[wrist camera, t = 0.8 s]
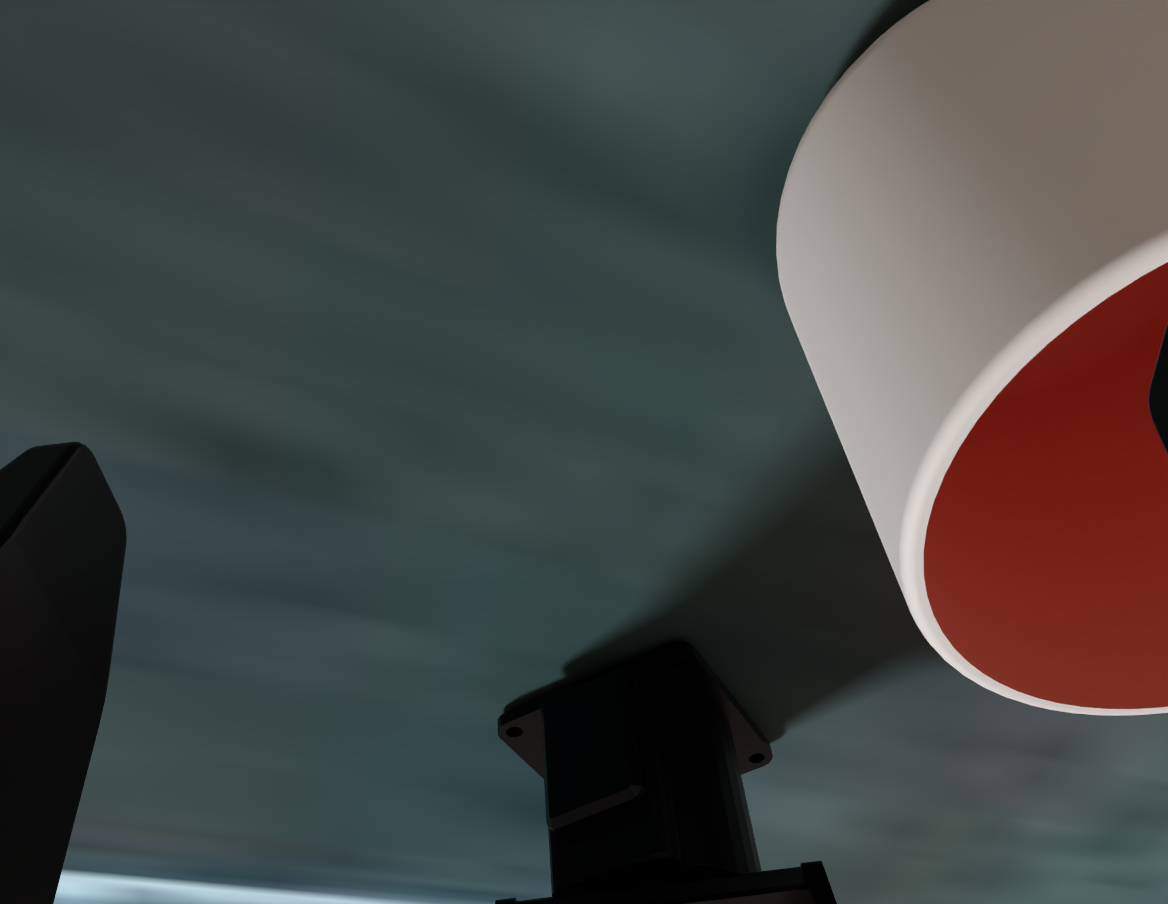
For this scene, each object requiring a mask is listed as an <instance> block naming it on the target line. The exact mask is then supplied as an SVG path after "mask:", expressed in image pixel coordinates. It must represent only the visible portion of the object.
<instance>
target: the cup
mask: <svg viewBox="0 0 1168 904" xmlns="http://www.w3.org/2000/svg"><path fill="white" fill-rule="evenodd" d="M776 256H777V265H778V274H779V282H780V286H781V290H782V294H783V298H784V302H785V305H786V307H787V310H788V313H789V315H790V318H791V321H792V323H793V326H794V328H795V331H796V333H797V336H798V338H799V340H800V343H801V345H802V348H803V350H804V353H805V355H806V358H807V360H808V363H809V365H810V367H811V370H812V372H813V375H814V377H815V380H816V382H817V385H818V387H819V390H820V392H821V394H822V397H823V399H824V402H825V404H826V407H827V409H828V412H829V414H830V417H831V419H832V421H833V424H834V426H835V429H836V431H837V434H838V436H839V439H840V441H841V444H842V446H843V448H844V451H845V453H846V456H847V458H848V461H849V463H850V466H851V468H852V471H853V473H854V475H855V478H856V480H857V483H858V485H859V488H860V490H861V493H862V495H863V497H864V500H865V502H866V505H867V507H868V510H869V512H870V515H871V517H872V519H873V522H874V524H875V527H876V529H877V532H878V534H879V537H880V539H881V542H882V544H883V546H884V549H885V551H886V554H887V556H888V559H889V561H890V564H891V566H892V568H893V571H894V573H895V576H896V578H897V581H898V583H899V586H900V588H901V590H902V593H903V595H904V598H905V600H906V603H907V605H908V608H909V610H910V613H911V615H912V617H913V619H914V621H915V623H916V624H917V626H918V628H919V629H920V631H921V632H922V634H923V635H924V637H925V638H926V640H927V641H928V642H929V644H930V645H931V646H932V647H933V648H934V649H935V650H936V651H937V652H938V653H939V654H940V655H941V656H942V658H943V659H944V660H945V661H946V662H948V663H949V664H950V665H951V666H953V667H954V668H955V669H956V670H958V671H959V672H960V673H962V674H963V675H964V676H966V677H967V678H969V679H971V680H972V681H974V682H976V683H978V684H979V685H981V686H983V687H984V688H986V689H989V690H991V691H993V692H995V693H998V694H1000V695H1002V696H1005V697H1007V698H1010V699H1013V700H1016V701H1019V702H1023V703H1026V704H1029V705H1032V706H1037V707H1041V708H1046V709H1050V710H1056V711H1062V712H1069V713H1078V714H1090V715H1146V714H1157V713H1168V455H1167V453H1166V451H1165V449H1164V446H1163V444H1162V442H1161V440H1160V437H1159V435H1158V433H1157V431H1156V428H1155V426H1154V424H1153V422H1152V419H1151V416H1150V412H1149V406H1148V393H1149V387H1150V383H1151V380H1152V376H1153V372H1154V369H1155V365H1156V362H1157V358H1158V354H1159V351H1160V347H1161V343H1162V340H1163V336H1164V333H1165V329H1166V326H1167V324H1168V0H929V1H927V2H926V3H924V4H922V5H921V6H919V7H918V8H916V9H915V10H913V11H912V12H910V13H909V14H908V15H906V16H905V17H904V18H902V19H901V20H899V21H898V22H897V23H895V24H894V25H893V26H892V27H891V28H890V29H888V30H887V31H886V32H885V33H884V34H882V35H881V36H880V37H879V38H878V39H877V40H876V41H875V42H874V43H873V44H872V45H871V46H870V47H869V48H868V49H867V50H866V51H865V52H864V53H863V54H862V55H861V56H860V57H859V58H858V59H857V60H856V61H855V62H854V63H853V64H852V65H851V66H850V67H849V68H848V69H847V70H846V71H845V73H844V74H843V75H842V77H841V78H840V79H839V80H838V82H837V83H836V84H835V85H834V87H833V88H832V89H831V90H830V92H829V93H828V95H827V96H826V98H825V99H824V101H823V102H822V104H821V105H820V107H819V108H818V110H817V111H816V113H815V114H814V116H813V118H812V120H811V121H810V123H809V125H808V127H807V129H806V131H805V133H804V135H803V137H802V139H801V141H800V143H799V145H798V148H797V150H796V153H795V155H794V158H793V160H792V163H791V165H790V168H789V171H788V174H787V178H786V182H785V185H784V189H783V193H782V196H781V201H780V208H779V214H778V221H777V242H776Z"/></svg>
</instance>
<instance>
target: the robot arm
mask: <svg viewBox="0 0 1168 904" xmlns="http://www.w3.org/2000/svg"><path fill="white" fill-rule="evenodd" d="M1148 406H1149V412H1150V416H1151V419H1152V422H1153V424H1154V426H1155V428H1156V431H1157V433H1158V435H1159V437H1160V440H1161V442H1162V444H1163V446H1164V449H1165V451H1166V453H1167V455H1168V324H1167V326H1166V329H1165V333H1164V336H1163V340H1162V343H1161V347H1160V351H1159V354H1158V358H1157V362H1156V365H1155V369H1154V372H1153V376H1152V380H1151V383H1150V387H1149V393H1148ZM125 549H126V527H125V522H124V518H123V515H122V513H121V510H120V508H119V506H118V504H117V502H116V500H115V498H114V496H113V494H112V492H111V490H110V488H109V485H108V483H107V481H106V479H105V477H104V475H103V473H102V471H101V469H100V467H99V465H98V463H97V461H96V458H95V457H94V455H93V453H92V452H91V451H90V449H89V448H88V447H87V446H85V445H83V444H81V443H79V442H69V443H60V444H52V445H43V446H36V447H33V448H30V449H28V450H27V451H25V452H24V453H22V454H21V455H20V456H18V457H17V458H16V459H14V460H13V461H11V462H10V463H9V464H7V465H6V466H5V467H3V468H2V469H1V470H0V904H53V902H54V898H55V894H56V891H57V887H58V883H59V879H60V875H61V871H62V867H63V863H64V860H65V856H66V852H67V848H68V844H69V840H70V836H71V832H72V829H73V825H74V821H75V817H76V813H77V809H78V805H79V801H80V798H81V794H82V790H83V786H84V782H85V778H86V774H87V770H88V766H89V763H90V759H91V755H92V751H93V747H94V743H95V739H96V735H97V732H98V728H99V724H100V719H101V715H102V711H103V706H104V702H105V697H106V691H107V685H108V679H109V673H110V665H111V657H112V650H113V642H114V634H115V626H116V619H117V611H118V603H119V596H120V588H121V580H122V572H123V565H124V557H125ZM678 657H680V658H678ZM498 735H499V737H500V738H501V739H502V740H503V741H504V742H505V743H506V744H507V745H508V746H509V747H510V748H511V749H512V750H513V751H515V752H516V753H517V754H518V755H519V756H520V757H521V758H522V759H523V760H524V761H525V762H526V763H527V764H528V765H529V766H531V767H532V768H533V769H534V770H535V771H536V772H537V773H538V774H539V775H540V776H541V777H542V778H543V779H544V784H545V802H546V821H547V825H548V831H549V849H550V867H551V885H552V896H553V897H548V898H539V899H531V900H523V901H517V900H516V898H510V899H502V900H496V901H495V904H837V903H836V900H835V898H834V895H833V892H832V889H831V886H830V883H829V881H828V878H827V875H826V872H825V869H824V867H823V864H822V861H814V862H806V863H801V867H794V868H786V869H778V870H770V871H761V866H760V861H759V857H758V852H757V847H756V843H755V838H754V833H753V829H752V824H751V820H750V815H749V810H748V806H747V801H746V796H745V792H744V787H743V782H742V778H741V774H744V773H747V772H749V771H752V770H754V769H757V768H760V767H762V766H764V765H766V764H768V763H769V762H770V761H771V760H772V757H773V755H772V751H771V747H770V744H769V741H768V740H767V739H766V738H765V736H764V735H763V734H762V733H761V731H760V730H759V729H758V728H757V726H756V725H755V724H754V722H753V721H752V720H751V719H750V717H749V716H748V715H747V714H746V712H745V711H744V710H743V709H742V707H741V706H740V705H739V703H738V702H737V701H736V700H735V698H734V697H733V696H732V695H731V693H730V692H729V691H728V690H727V688H726V687H725V686H724V684H723V683H722V682H721V681H720V679H719V678H718V677H717V676H716V674H715V673H714V672H713V670H712V669H711V668H710V667H709V665H708V664H707V663H706V662H705V660H704V659H703V658H702V657H701V655H700V654H699V653H698V651H697V650H696V649H695V648H694V646H693V645H691V644H690V643H689V642H685V641H674V642H670V643H668V644H665V645H663V646H661V647H658V648H656V649H654V650H651V651H649V652H646V653H644V654H642V655H639V656H637V657H635V658H632V659H630V660H628V661H625V662H623V663H621V664H618V665H616V666H614V667H611V668H609V669H607V670H604V671H602V672H599V673H597V674H595V675H592V676H590V677H588V678H585V679H583V680H581V681H578V682H576V683H574V684H571V685H569V686H567V687H564V688H562V689H559V690H557V691H555V692H552V693H550V694H548V695H545V696H543V697H541V698H538V699H536V700H534V701H531V702H529V703H527V704H524V705H522V706H520V707H517V708H515V709H512V710H510V711H508V712H505V713H504V714H502V715H501V716H500V717H499V718H498Z"/></svg>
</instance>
